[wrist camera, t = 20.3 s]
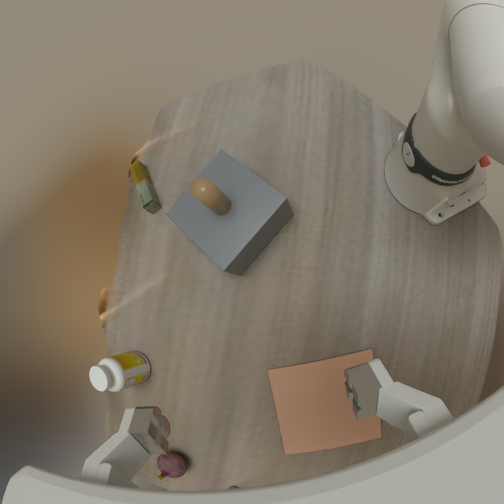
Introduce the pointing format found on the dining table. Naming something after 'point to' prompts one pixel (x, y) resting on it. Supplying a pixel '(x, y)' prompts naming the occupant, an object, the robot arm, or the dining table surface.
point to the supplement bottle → (120, 371)
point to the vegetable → (171, 465)
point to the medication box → (145, 187)
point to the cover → (230, 213)
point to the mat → (319, 405)
